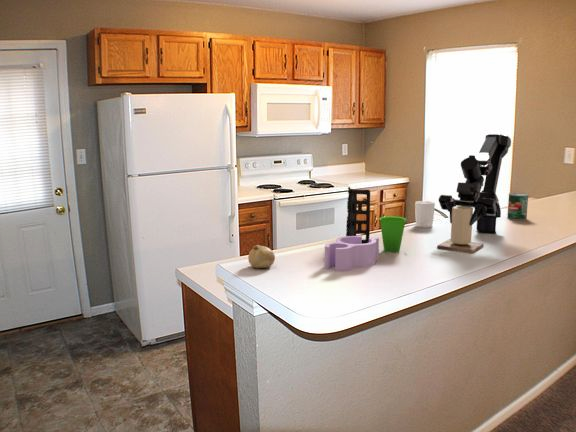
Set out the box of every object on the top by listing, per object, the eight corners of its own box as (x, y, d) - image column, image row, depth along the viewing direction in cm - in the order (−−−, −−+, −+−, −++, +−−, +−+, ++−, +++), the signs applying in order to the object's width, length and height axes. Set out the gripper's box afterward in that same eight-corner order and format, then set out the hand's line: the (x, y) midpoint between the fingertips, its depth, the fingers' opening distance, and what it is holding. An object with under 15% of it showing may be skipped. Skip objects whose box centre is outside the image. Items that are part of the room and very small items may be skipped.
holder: (375, 244, 182) (377, 188, 179) (363, 248, 177) (364, 190, 173) (350, 239, 190) (351, 186, 186) (338, 243, 184) (338, 188, 181)
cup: (406, 248, 176) (407, 217, 174) (403, 255, 167) (404, 222, 165) (380, 246, 179) (381, 215, 177) (376, 252, 170) (377, 220, 168)
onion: (261, 262, 161) (260, 240, 159) (280, 266, 156) (280, 243, 154) (243, 267, 154) (242, 245, 153) (262, 272, 149) (262, 249, 148)
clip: (348, 274, 147) (348, 251, 146) (314, 266, 156) (314, 244, 154) (385, 260, 162) (385, 239, 161) (352, 254, 170) (353, 233, 169)
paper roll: (454, 239, 181) (456, 205, 179) (472, 241, 177) (474, 207, 175) (448, 242, 176) (450, 208, 174) (466, 244, 172) (468, 209, 170)
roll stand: (449, 241, 185) (450, 226, 184) (483, 246, 178) (484, 230, 177) (437, 248, 176) (437, 232, 175) (472, 253, 169) (473, 237, 168)
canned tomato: (527, 218, 228) (529, 193, 226) (525, 221, 222) (527, 195, 220) (508, 216, 233) (510, 192, 231) (505, 219, 226) (507, 194, 224)
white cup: (432, 224, 216) (433, 201, 215) (435, 228, 209) (436, 204, 207) (413, 224, 217) (413, 200, 215) (415, 227, 209) (416, 203, 208)
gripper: (441, 172, 181) (428, 207, 174) (496, 175, 170) (484, 212, 163) (448, 191, 189) (435, 225, 182) (501, 195, 178) (490, 232, 171)
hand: (460, 223), depth 174 cm, fingers closed on paper roll, 6 cm apart
